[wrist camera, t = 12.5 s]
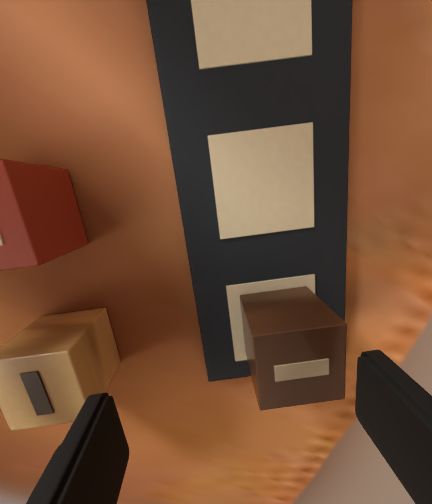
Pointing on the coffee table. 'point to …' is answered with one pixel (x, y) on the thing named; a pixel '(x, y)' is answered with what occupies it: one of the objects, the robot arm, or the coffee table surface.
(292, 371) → the walnut letter block
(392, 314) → the coffee table surface
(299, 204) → the word board
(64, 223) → the brick-red letter block
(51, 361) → the maple letter block
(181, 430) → the coffee table surface
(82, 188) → the coffee table surface
